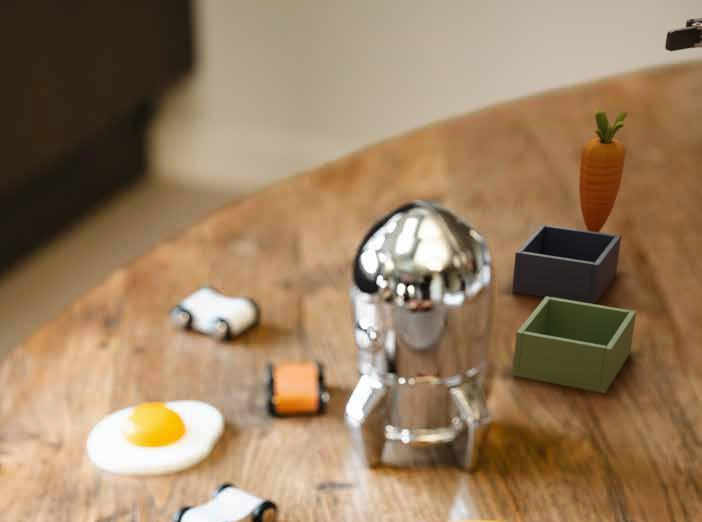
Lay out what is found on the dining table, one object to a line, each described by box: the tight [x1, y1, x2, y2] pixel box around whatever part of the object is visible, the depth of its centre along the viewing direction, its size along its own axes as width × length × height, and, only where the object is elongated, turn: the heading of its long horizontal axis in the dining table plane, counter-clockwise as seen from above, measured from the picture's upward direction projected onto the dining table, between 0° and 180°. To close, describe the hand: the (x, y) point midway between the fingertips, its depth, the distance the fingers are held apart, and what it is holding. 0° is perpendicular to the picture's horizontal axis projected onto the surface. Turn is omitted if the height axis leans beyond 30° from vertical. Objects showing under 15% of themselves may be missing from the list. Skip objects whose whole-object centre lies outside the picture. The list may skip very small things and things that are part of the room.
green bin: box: [512, 296, 637, 394], centre depth 118 cm, size 9×9×5 cm
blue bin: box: [511, 223, 622, 304], centre depth 134 cm, size 9×9×5 cm
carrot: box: [578, 109, 628, 233], centre depth 142 cm, size 5×5×15 cm
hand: (692, 49), depth 137 cm, fingers open, 8 cm apart
